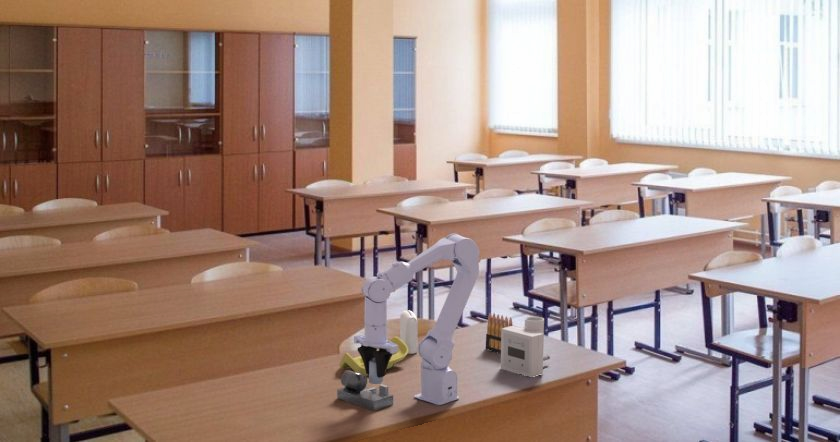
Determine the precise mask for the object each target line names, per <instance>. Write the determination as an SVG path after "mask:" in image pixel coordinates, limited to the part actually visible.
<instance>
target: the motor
mask: <svg viewBox="0 0 840 442" xmlns="http://www.w3.org/2000/svg"><path fill="white" fill-rule="evenodd" d="M340 382H341V383H340V384H341V385H342V386H343V387H340V388H337V389H336V390H337V394H336V397H337V400H341V401H343V402H347V403H350V404H353V405H356V406H358V407H362V408H364V409H368V410H370V411H377V410H380V409H384V408H387V407H390V406H393V405H394V395H393V394H391V393H389V386H388V385H386V384H383V383H381V384H378V386H379V387H378V389H379V390H378V389H377V387H374V386H373V387H369V386H367V385H368V378H367V376H365V375H363V374H359V373H356V372H355V371H354V370H349V369H348V370H347V369H346V371H344V372H343V373H342V375H341V377H340Z"/></svg>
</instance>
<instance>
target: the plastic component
mask: <svg viewBox="0 0 840 442" xmlns="http://www.w3.org/2000/svg"><path fill="white" fill-rule="evenodd" d="M389 341H390V342H392V343H394V344H396V345H398V352H397V353H394V354H393V355H392V357H391V358H390V360H389V363H388V366H387V369H386V370H388V369H391V368H393V365H394V364H397V363H399V362H400V361H402V360H404V359H405V357H406V356H407V355H408V351H409V349H408V347H407V345H406V344H405V343H404V342H403V341H402V340H401V339H400V336H394V337H392V338H391V339H390V340H389ZM377 351H379V349H377ZM339 367H340V369H342V370H344V369H345V370H347V369H349V368H351V370H352V371H353V372H356V373H359V374H363V375H365V376H366V377H369V374H366V370H365V366H364V363H363V360H362V357H361V355H360V356H356V357H353V356H352V355H351V354H350V353H349V352H345V353H344V354H343V356H342V358H341V360H340V363H339Z"/></svg>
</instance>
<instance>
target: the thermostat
mask: <svg viewBox="0 0 840 442" xmlns="http://www.w3.org/2000/svg"><path fill="white" fill-rule="evenodd" d="M544 338H545V318H544V317H542V316H541V317H540V316H527V317H524V327H523V326H522V327H518V326H516V325H515V326H514V325H512V326H510V327H506V328H502V329H501V354H500V369H501V370H504V371H507V372H510V373H513V372H514V373H513V374H516V373H517V375H519V374H522V375H521V376H523V375H525V376H524V377H526V376H529V377H533V376H536V375H539V374H542V373H543V374H544V361H548V360H550V358H551V357H550V355H545V356H544V347H545V346H544V344H545V343H544V342H545V341H544V340H545V339H544ZM529 377H528V378H529Z"/></svg>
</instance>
